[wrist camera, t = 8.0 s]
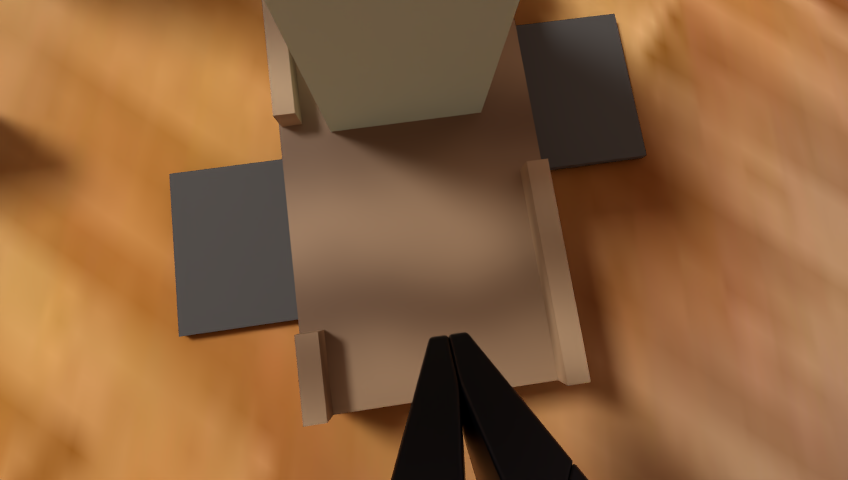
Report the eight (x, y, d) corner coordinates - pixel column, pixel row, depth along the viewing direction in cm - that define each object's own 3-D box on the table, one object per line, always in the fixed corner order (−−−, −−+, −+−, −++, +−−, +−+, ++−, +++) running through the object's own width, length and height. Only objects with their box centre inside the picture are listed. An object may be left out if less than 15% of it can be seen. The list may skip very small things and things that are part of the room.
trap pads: (665, 266, 18) (671, 265, 18) (184, 335, 18) (179, 336, 17) (610, 19, 20) (614, 13, 20) (168, 72, 19) (163, 68, 19)
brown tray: (559, 365, 18) (607, 387, 13) (323, 401, 17) (291, 436, 13) (486, -33, 20) (505, -126, 16) (280, -9, 20) (241, -98, 15)
